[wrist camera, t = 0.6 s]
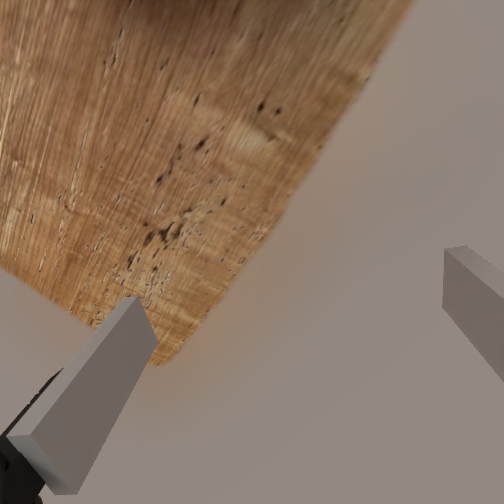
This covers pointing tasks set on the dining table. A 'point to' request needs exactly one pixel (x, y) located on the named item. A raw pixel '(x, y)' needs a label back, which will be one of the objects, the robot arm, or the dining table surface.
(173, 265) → the dining table surface
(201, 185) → the dining table surface
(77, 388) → the robot arm
